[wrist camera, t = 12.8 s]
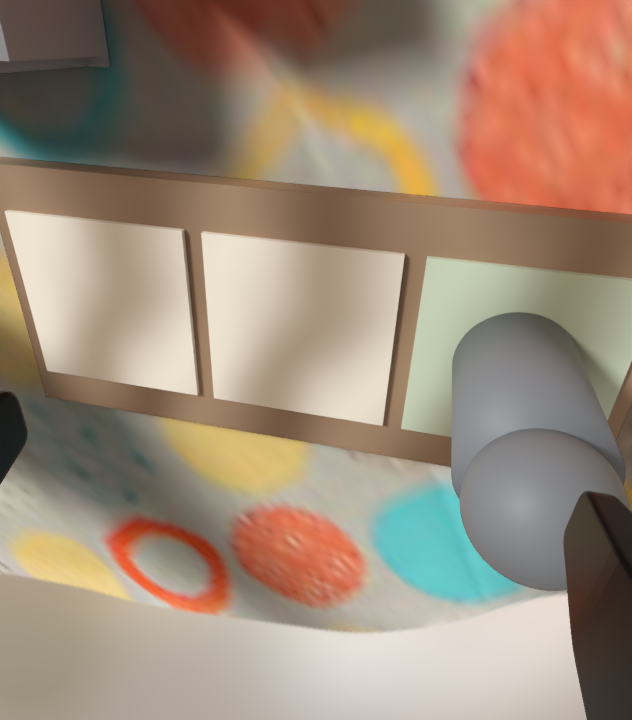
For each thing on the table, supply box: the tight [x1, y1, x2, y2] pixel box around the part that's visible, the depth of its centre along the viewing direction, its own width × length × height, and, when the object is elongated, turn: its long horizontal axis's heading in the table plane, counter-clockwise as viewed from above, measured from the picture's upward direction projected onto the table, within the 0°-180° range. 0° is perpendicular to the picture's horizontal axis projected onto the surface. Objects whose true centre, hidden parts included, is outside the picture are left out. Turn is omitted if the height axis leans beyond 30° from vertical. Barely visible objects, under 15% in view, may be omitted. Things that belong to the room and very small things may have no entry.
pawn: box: [451, 312, 629, 591], centre depth 14 cm, size 4×4×8 cm
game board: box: [0, 157, 632, 467], centre depth 20 cm, size 23×10×1 cm, turn 87°
